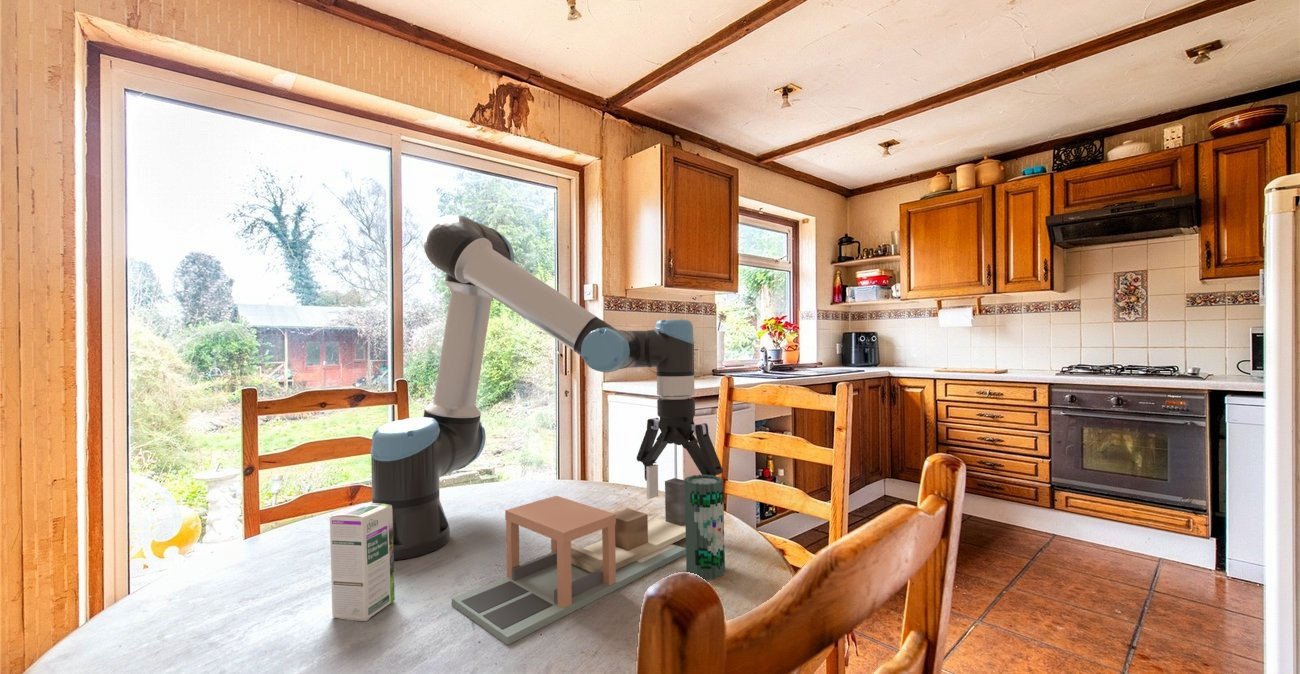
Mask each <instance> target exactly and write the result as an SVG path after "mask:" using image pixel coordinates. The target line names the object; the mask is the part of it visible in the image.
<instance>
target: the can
mask: <svg viewBox="0 0 1300 674" xmlns="http://www.w3.org/2000/svg"><path fill="white" fill-rule="evenodd" d="M684 480H685V521H686V537H685V548H686V554H685V558H686V559H685V560H686V561H685V565H686V569H685V570H686V573H688V572H690V573H694V574H697V575H699V576H700V577H702V578H704V579H703V580H712V579H718V578H720V577H722V576H724V574H725V573H726V562H725V561H726V559H725V557H726V556H725V555H726V554H725V553H726V551H725V514H724V513H725V512H724V511H725V505H724V504H725V503H724V502H725V501H724V478H722V477H721V476H718V475H716V476H713V475H702V474H697V475H695V474H694V475H693V474H692V475H689V476H686V478H684ZM696 577H697V576H696Z"/></svg>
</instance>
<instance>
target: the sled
mask: <svg viewBox="0 0 1300 674" xmlns="http://www.w3.org/2000/svg"><path fill="white" fill-rule="evenodd" d="M664 499H665V500H664V505H665V511H664V512H665V515H664V516H659V517H657V518H654V519H652V520H650V521H649V520H648V543H645V544H643V545H641V546H639V547H636V548H634V549H632V550H630V551H627V550H624V549H621V548H619V547H616V546H615V556H616V570H617V569H619V568H621V567H623V566H625V565H628V564H630V563H632V562H634V561H636V560H638V559H640V558H642V557H645V556H647V555H649V554H651V553H653V552H655V551H657V550H659V549H662V548H664V547H666V546H668V545H670V544H674V543H676V542H678V541H681V540H682V539H684V538H685V539H686V521H685V479H680V478H675V477H674V478H671V479H668V480H667V479H666V480H665V481H664ZM581 547H582V546H579V545H577V544H573V543H571V564H573V565H576V566H578V567H580V568H582V569H585V570H587V571H589V572H591V573H593V572H595V571H597V570H600V569H602V568H603V549H602V541H599V542H597V543H594V544H592V545H589V546H587V547H584V548H581Z"/></svg>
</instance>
